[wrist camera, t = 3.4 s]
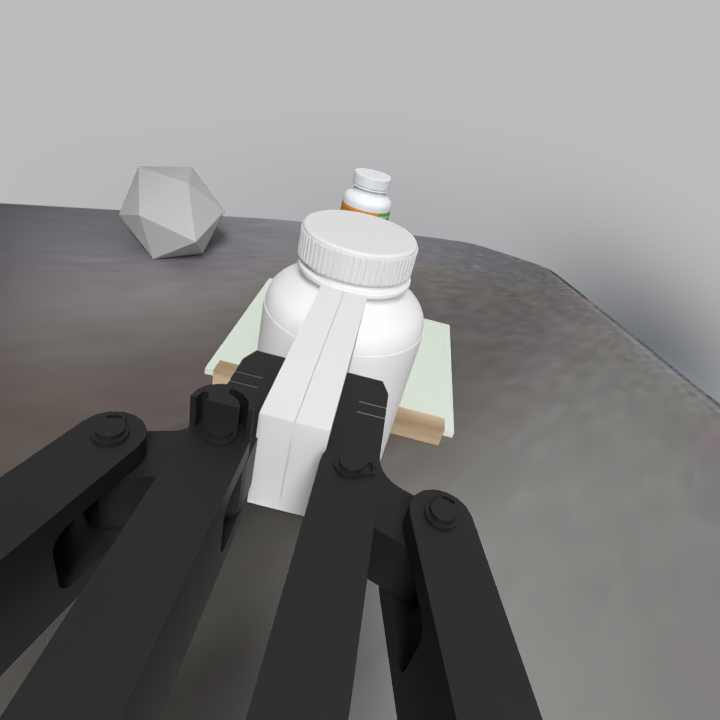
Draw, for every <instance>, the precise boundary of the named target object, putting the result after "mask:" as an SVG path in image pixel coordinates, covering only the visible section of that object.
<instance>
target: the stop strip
mask: <svg viewBox="0 0 720 720" xmlns="http://www.w3.org/2000/svg"><path fill="white" fill-rule="evenodd" d="M237 367H238V365H237V364H233V363H230V362H226V361H222V360H220V361H219V362H218V364H217V365H216V367H215V368H214V369H213V383H212V384H227V383H228V382H229V381H230V378H231V377H232V375H233V373H234V372H235V371H236V369H237ZM444 431H445V418H441V417H437V416H433V415H430V414H426V413H422V412H418V411H414V410H410V409H406V408H403V407H399V408H398V411H397V414H396V417H395V420H394V423H393V425H392V428H391V431H390V433H391V434H395V435H399V436H403V437H407V438H410V439H414V440H418V441H422V442H426V443H430V444H434V445H437V446H438V445H439V442H440V440H441V438H442V435H443V433H444Z"/></svg>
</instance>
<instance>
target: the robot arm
mask: <svg viewBox="0 0 720 720" xmlns="http://www.w3.org/2000/svg"><path fill="white" fill-rule="evenodd" d="M366 300H367V297H365V296H361V295H357V294H353V293H349V292H345V291H341V290H338V289H334V288H330V287H326V286H322V285H321V287H320V289H319V291H318V293H317V295H316V297H315V299H314V301H313V303H312V305H311V307H310V309H309V311H308V313H307V316H306V318H305V320H304V322H303V324H302V326H301V328H300V330H299V332H298V334H297V336H296V338H295V340H294V342H293V344H292V346H291V349H290V351H289V353H288V355H287V357H286V358H284V357H280V356H276V355H273V354H269V353H265V352H261V351H257V350H256V351H255V352H253V353H251V354H250V355H248V356H246V357H245V358H243V359H242V361H241V362H240V364H239V365H238V367H237V369H236V371H235V372H234V373H233V375H232V377H231V378H230V381H229V382H228V383H227V384H212V385H207V386H204V387H202V388H199V389H197V390H196V391H195V392H194V393H193V394H192V395H191V399H190V425H189V427H188V428H187V429H183V430H179V431H147V429H146V427H145V424H144V422H143V421H142V420H141V419H139V418H138V417H136V416H135V415H132V414H129V413H125V412H105V413H101V414H96V415H94V416H92V417H90V418H88V419H86V420H84V421H82V422H81V423H79V424H78V425H76V426H75V427H74V428H72V429H71V430H69V431H68V432H66V433H65V434H63V435H62V436H60V437H59V438H57V439H56V440H55V441H53V442H52V443H50V444H49V445H47V446H46V447H44V448H43V449H41V450H40V451H38V452H37V453H36V454H34V455H33V456H31V457H30V458H28V459H27V460H25V461H24V462H22V463H21V464H19V465H18V466H16V467H15V468H14V469H12V470H11V471H9V472H8V473H6V474H5V475H3V476H2V477H0V676H1V675H2V674H3V673H4V672H5V671H6V670H7V669H8V668H9V667H10V666H11V664H12V663H13V662H14V661H15V660H16V659H17V658H18V657H19V656H20V655H21V654H22V653H23V652H24V651H25V650H26V649H27V648H28V647H29V646H30V645H31V644H32V643H33V642H34V641H35V640H36V639H37V638H38V637H39V636H40V635H41V634H42V633H43V632H44V631H45V630H46V628H47V627H48V626H49V625H50V624H51V623H52V622H53V621H54V620H55V619H56V618H57V617H58V616H59V615H60V614H61V613H62V612H63V611H64V610H65V609H66V608H67V607H68V606H69V605H70V604H71V603H72V602H73V601H74V600H75V599H76V598H77V597H78V596H79V597H78V599H77V600H76V602H75V603H74V605H73V606H72V608H71V609H70V611H69V612H68V614H67V616H66V617H65V619H64V620H63V622H62V623H61V625H60V626H59V628H58V629H57V631H56V632H55V634H54V636H53V637H52V639H51V640H50V642H49V643H48V645H47V646H46V648H45V649H44V651H43V653H42V654H41V656H40V657H39V659H38V660H37V662H36V663H35V665H34V666H33V668H32V669H31V671H30V673H29V674H28V676H27V677H26V679H25V680H24V682H23V683H22V685H21V686H20V688H19V690H18V691H17V693H16V694H15V696H14V697H13V699H12V700H11V702H10V703H9V705H8V706H7V708H6V710H5V711H4V713H3V714H2V716H1V717H0V720H158V719H159V717H160V714H161V712H162V709H163V707H164V704H165V702H166V700H167V697H168V695H169V692H170V690H171V687H172V685H173V683H174V680H175V678H176V675H177V673H178V670H179V668H180V666H181V663H182V661H183V658H184V656H185V653H186V651H187V648H188V646H189V644H190V641H191V639H192V636H193V634H194V631H195V629H196V627H197V624H198V622H199V619H200V617H201V614H202V612H203V610H204V607H205V605H206V602H207V600H208V597H209V595H210V593H211V590H212V588H213V585H214V583H215V580H216V578H217V576H218V573H219V571H220V568H221V566H222V563H223V561H224V559H225V556H226V554H227V551H228V549H229V546H230V544H231V542H232V539H233V537H234V534H235V532H236V529H237V527H238V524H239V522H240V517H241V510H242V505H243V502H244V500H245V498H246V495H247V493H248V498H247V502H250V503H254V504H257V505H261V506H265V507H269V508H273V509H277V510H281V511H285V512H289V513H293V514H297V515H301V516H304V518H303V522H302V525H301V529H300V532H299V536H298V539H297V543H296V546H295V550H294V553H293V557H292V560H291V564H290V567H289V571H288V574H287V578H286V581H285V585H284V588H283V592H282V595H281V599H280V602H279V606H278V609H277V613H276V616H275V620H274V623H273V627H272V630H271V634H270V637H269V641H268V644H267V648H266V651H265V655H264V658H263V662H262V665H261V669H260V672H259V676H258V679H257V683H256V686H255V690H254V693H253V697H252V700H251V704H250V707H249V711H248V714H247V718H246V720H348V718H349V710H350V703H351V695H352V688H353V680H354V673H355V665H356V658H357V650H358V643H359V635H360V628H361V620H362V613H363V605H364V598H365V590H366V583H367V579H369V580H371V581H372V582H374V583H375V584H377V585H379V594H380V601H381V608H382V615H383V622H384V629H385V636H386V643H387V650H388V657H389V664H390V671H391V678H392V685H393V692H394V699H395V706H396V713H397V720H542V717H541V714H540V711H539V708H538V705H537V702H536V700H535V697H534V694H533V691H532V688H531V685H530V682H529V679H528V677H527V674H526V671H525V668H524V665H523V662H522V659H521V656H520V654H519V651H518V648H517V645H516V642H515V639H514V636H513V633H512V631H511V628H510V625H509V622H508V619H507V616H506V613H505V610H504V608H503V605H502V602H501V599H500V596H499V593H498V590H497V587H496V585H495V582H494V579H493V576H492V573H491V570H490V567H489V565H488V562H487V559H486V556H485V553H484V550H483V547H482V544H481V542H480V539H479V536H478V533H477V530H476V527H475V524H474V521H473V519H472V516H471V514H470V513H469V511H468V509H467V507H466V506H465V505H464V504H463V503H462V502H461V501H460V500H458V499H457V498H456V497H454V496H452V495H450V494H448V493H446V492H443V491H439V490H424V491H421V492H420V493H418V494H416V495H415V496H414V495H412V494H410V493H408V492H406V491H404V490H403V489H401V488H399V487H398V486H396V485H395V484H393V483H392V482H391V481H390V480H389V479H388V478H387V476H386V475H385V473H384V472H383V470H382V468H381V465H380V453H381V445H382V438H383V431H384V424H385V416H386V408H387V402H388V392H387V390H386V388H385V385H384V383H383V381H380V380H376V379H372V378H368V377H364V376H360V375H356V374H352V373H348V372H349V369H350V365H351V361H352V357H353V353H354V349H355V345H356V341H357V337H358V333H359V329H360V325H361V321H362V317H363V313H364V309H365V305H366Z"/></svg>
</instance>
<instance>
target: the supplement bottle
mask: <svg viewBox="0 0 720 720" xmlns="http://www.w3.org/2000/svg"><path fill="white" fill-rule="evenodd" d="M353 184H354V187H353V188H350V189H348V190H347V191H346V192H345V193H344V196H343V200H342V205H341V210H347V211H355V212H360V213H365V214H369V215H373V216H376V217H379V218H382V219H385V220H388V218H389V214H390V210H391V201H390V199H389V198H388V197H387V196H386V193H387V192H388V191H389V187H390V184H391V177H390V176H388V175H386V174H385V173H382V172H379V171H376V170H372V169H367V168H358V169H356V170H355V173H354V178H353Z"/></svg>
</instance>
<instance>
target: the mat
mask: <svg viewBox="0 0 720 720" xmlns="http://www.w3.org/2000/svg"><path fill="white" fill-rule="evenodd" d="M272 280H273V279H271V278H269V279H268V281H267V282H266V284H265V285H264V286H263V288H262V289H261V291H260V292H259V293H258V295H257V296H256V298H255V299H254V300H253V302H252V303H251V305H250V306H249V307H248V309H247V310H246V312H245V313H244V314H243V316H242V317H241V319H240V320H239V321H238V323H237V324H236V326H235V327H234V328H233V330H232V331H231V333H230V334H229V335H228V337H227V338H226V340H225V341H224V342H223V344H222V345H221V347H220V348H219V349H218V351H217V352H216V354H215V355H214V356H213V358H212V359H211V361H210V362H209V363H208V365H207V366H206V368H205V374H208V375H212V376H213V369H214V368H215V367H216V365H217V364H218V362H219V361H220V360H222V361H226V362H230V363H233V364H237V365H239V364H240V362H241V361H242V359H243V358H245V357H246V356H248V355H250V354H251V353H253V352H255V351H256V350H257V349H258V341H259V333H260V324H261V316H262V308H263V301H264V296H265V293H266V291H267V289H268V287H269V285H270V283H271V282H272ZM423 319H424V318H423ZM399 407H403V408H406V409H410V410H414V411H418V412H422V413H426V414H430V415H433V416H437V417H441V418H445V431H444V433H443V436H447V437H451V438H452V436H453V434H454V421H453V397H452V373H451V350H450V326H449V325H447V324H443V323H439V322H435V321H432V320H428V319H424V331H423V336H422V339H421V343H420V346H419V349H418V352H417V355H416V358H415V361H414V363H413V366H412V369H411V372H410V375H409V378H408V381H407V384H406V387H405V390H404V393H403V396H402V399H401V402H400V405H399Z"/></svg>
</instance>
